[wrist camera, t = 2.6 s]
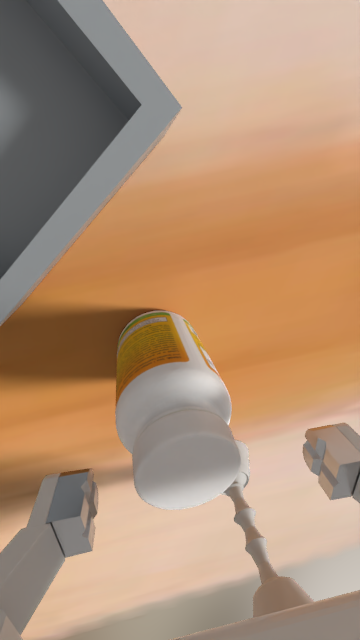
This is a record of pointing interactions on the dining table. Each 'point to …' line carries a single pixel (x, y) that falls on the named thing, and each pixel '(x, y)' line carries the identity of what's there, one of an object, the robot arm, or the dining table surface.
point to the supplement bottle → (173, 413)
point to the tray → (66, 129)
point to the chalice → (262, 552)
